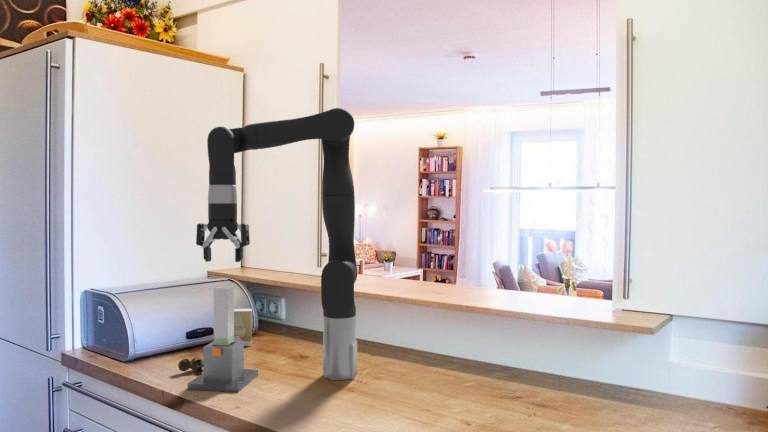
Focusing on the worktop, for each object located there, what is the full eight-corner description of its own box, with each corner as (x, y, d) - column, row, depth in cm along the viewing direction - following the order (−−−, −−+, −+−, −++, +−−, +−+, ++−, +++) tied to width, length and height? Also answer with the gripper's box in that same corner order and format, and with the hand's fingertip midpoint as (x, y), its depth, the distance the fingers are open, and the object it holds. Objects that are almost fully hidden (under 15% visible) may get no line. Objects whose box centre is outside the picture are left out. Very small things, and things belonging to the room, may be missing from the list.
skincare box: (232, 347, 185) (232, 311, 185) (233, 343, 190) (233, 308, 189) (251, 346, 187) (251, 310, 186) (252, 342, 191) (252, 308, 190)
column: (234, 351, 152) (233, 286, 151) (227, 355, 148) (227, 288, 147) (220, 350, 152) (219, 285, 152) (213, 354, 148) (213, 288, 148)
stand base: (258, 375, 156) (257, 338, 156) (238, 392, 142) (238, 351, 142) (211, 372, 158) (211, 336, 158) (187, 389, 144) (187, 349, 144)
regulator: (228, 367, 166) (176, 364, 160) (231, 356, 165) (179, 353, 159) (230, 382, 160) (176, 380, 153) (233, 371, 159) (179, 368, 152)
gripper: (253, 202, 151) (253, 260, 152) (204, 201, 153) (204, 259, 154) (242, 202, 144) (242, 263, 144) (191, 202, 146) (191, 262, 146)
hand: (223, 261), depth 149 cm, fingers open, 8 cm apart
